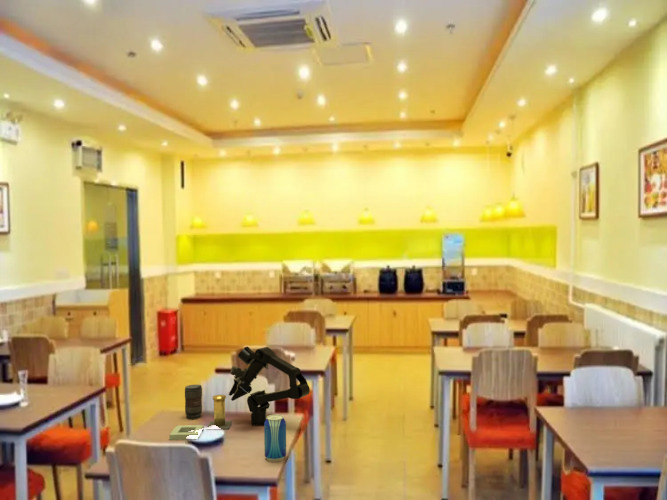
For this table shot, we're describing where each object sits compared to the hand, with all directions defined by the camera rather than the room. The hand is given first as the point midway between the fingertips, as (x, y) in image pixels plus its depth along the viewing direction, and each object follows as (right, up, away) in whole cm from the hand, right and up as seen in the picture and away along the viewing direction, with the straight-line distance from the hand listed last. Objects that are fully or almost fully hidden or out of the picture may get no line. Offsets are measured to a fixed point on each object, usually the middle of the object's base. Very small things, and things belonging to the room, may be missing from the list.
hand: (230, 397), depth 250 cm
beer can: (+25, -13, -38) cm, 47 cm away
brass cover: (-5, -12, 0) cm, 13 cm away
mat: (-5, -13, 0) cm, 14 cm away
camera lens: (-20, -13, +14) cm, 28 cm away
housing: (-17, -13, -11) cm, 24 cm away
